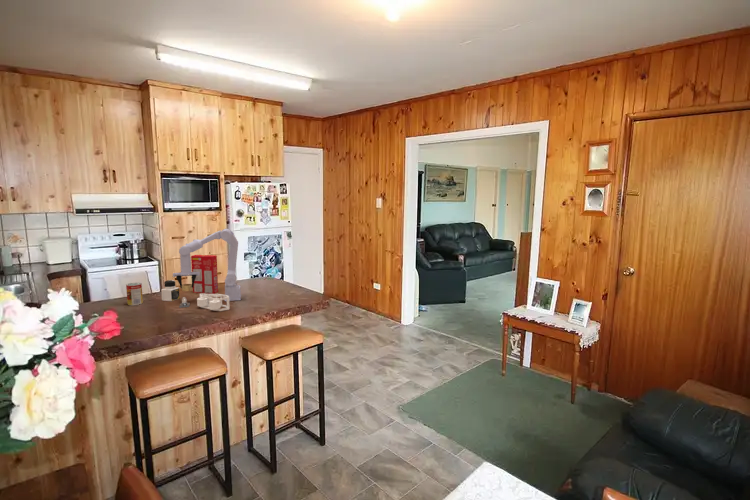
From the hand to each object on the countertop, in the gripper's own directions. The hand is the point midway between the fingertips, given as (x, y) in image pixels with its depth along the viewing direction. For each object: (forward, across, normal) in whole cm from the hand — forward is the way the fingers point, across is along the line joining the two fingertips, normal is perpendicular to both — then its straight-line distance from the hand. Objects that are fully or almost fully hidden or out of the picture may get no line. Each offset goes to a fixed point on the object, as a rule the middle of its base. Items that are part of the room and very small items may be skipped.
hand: (187, 287), depth 243 cm
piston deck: (+9, +1, +9) cm, 13 cm away
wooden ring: (+1, 0, 0) cm, 1 cm away
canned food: (+9, +29, -5) cm, 31 cm away
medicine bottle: (+9, +10, -9) cm, 17 cm away
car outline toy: (+9, -15, +18) cm, 25 cm away
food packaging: (+9, -9, -21) cm, 25 cm away
